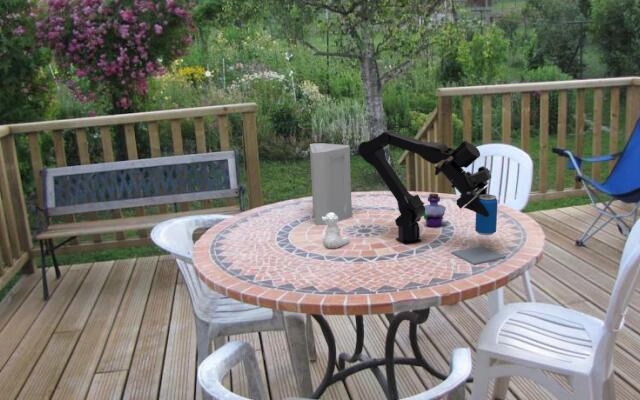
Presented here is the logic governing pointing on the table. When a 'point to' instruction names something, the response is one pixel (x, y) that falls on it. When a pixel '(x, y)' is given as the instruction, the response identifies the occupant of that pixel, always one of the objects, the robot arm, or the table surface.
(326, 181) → the gray triangular prism
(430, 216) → the potion bottle
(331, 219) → the sitting furry creature
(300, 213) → the table surface
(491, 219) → the beverage can
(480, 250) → the mat
